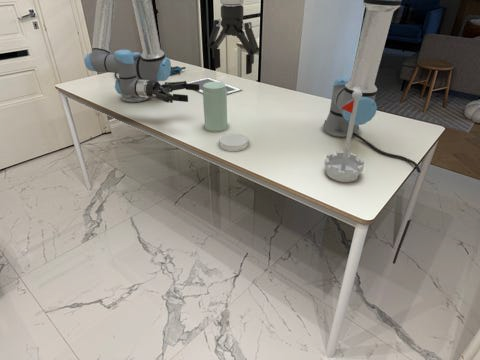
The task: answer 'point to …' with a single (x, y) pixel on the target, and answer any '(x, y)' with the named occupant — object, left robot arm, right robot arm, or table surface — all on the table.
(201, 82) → the tablet
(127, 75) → the left robot arm
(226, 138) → the lid
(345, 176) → the flag stand
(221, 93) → the jar
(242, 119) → the table surface
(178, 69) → the submachine gun
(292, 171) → the table surface
